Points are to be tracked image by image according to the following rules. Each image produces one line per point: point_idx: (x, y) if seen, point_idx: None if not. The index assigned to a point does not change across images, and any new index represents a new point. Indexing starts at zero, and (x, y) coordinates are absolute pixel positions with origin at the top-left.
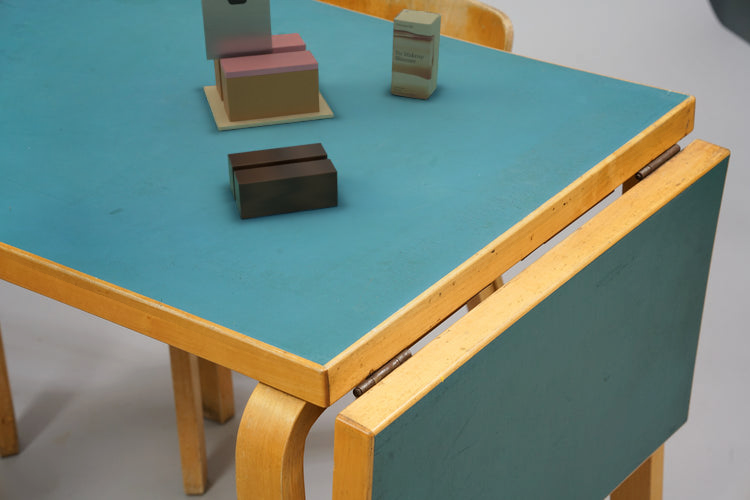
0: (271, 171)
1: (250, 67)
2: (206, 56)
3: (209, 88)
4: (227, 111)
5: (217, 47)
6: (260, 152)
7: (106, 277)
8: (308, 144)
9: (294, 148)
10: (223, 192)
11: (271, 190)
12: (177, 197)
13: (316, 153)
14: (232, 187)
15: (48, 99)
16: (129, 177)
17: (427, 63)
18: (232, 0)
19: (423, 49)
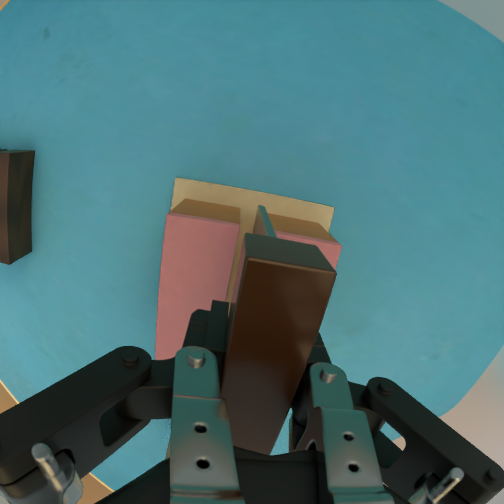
0: None
1: (172, 262)
2: (262, 206)
3: (322, 213)
4: (200, 202)
5: (254, 232)
6: (2, 192)
7: None
8: (7, 250)
9: (2, 232)
10: (30, 141)
11: None
12: (40, 92)
13: None
14: (14, 150)
15: (392, 16)
16: (103, 44)
17: (168, 446)
18: (197, 310)
19: (168, 457)
